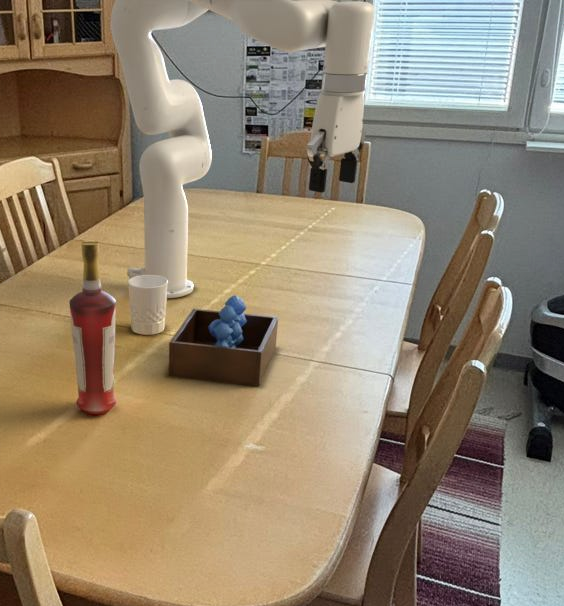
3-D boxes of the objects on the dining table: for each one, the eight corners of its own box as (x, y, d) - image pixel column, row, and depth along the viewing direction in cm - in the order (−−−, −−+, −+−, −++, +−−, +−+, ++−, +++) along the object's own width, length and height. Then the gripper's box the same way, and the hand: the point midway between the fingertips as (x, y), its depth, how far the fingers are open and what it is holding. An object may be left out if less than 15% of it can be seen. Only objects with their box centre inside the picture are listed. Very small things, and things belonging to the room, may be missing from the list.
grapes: (218, 345, 166) (220, 285, 159) (251, 351, 163) (255, 289, 157) (195, 368, 157) (197, 305, 151) (230, 374, 155) (233, 310, 148)
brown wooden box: (168, 375, 156) (169, 342, 152) (192, 340, 170) (193, 308, 166) (258, 386, 152) (261, 352, 148) (275, 349, 165) (278, 316, 162)
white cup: (173, 325, 176) (173, 277, 171) (158, 338, 171) (158, 289, 165) (138, 319, 179) (137, 272, 174) (122, 333, 173) (121, 284, 168)
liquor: (76, 399, 148) (68, 236, 133) (119, 399, 148) (115, 235, 133) (73, 418, 142) (63, 250, 127) (117, 418, 142) (113, 249, 127)
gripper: (352, 77, 156) (340, 175, 166) (296, 87, 146) (287, 191, 156) (388, 80, 152) (374, 181, 162) (333, 91, 142) (322, 198, 151)
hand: (331, 186), depth 159 cm, fingers open, 9 cm apart
